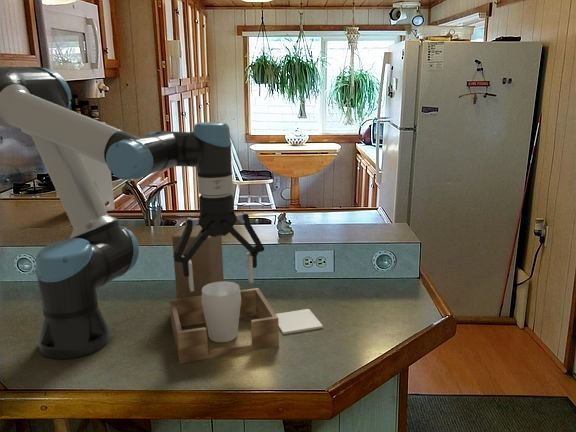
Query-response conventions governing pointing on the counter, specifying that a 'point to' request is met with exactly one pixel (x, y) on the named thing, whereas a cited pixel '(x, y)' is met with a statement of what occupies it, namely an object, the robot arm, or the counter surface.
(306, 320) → the mat
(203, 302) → the cup
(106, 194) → the white tall tapered bar
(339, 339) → the counter surface
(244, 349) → the crate
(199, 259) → the wooden block
